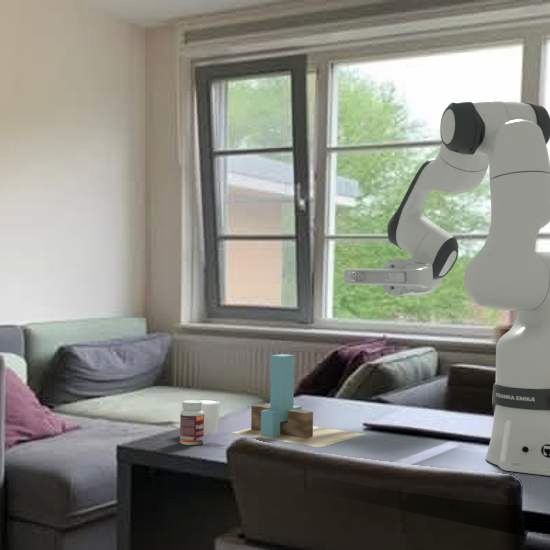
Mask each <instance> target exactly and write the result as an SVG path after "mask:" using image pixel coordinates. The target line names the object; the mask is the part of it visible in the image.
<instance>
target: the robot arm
mask: <svg viewBox="0 0 550 550" xmlns="http://www.w3.org/2000/svg"><path fill="white" fill-rule="evenodd" d="M439 129H440V130H439V131H440V134H439V135H440V139H441V142H442V143H441V145H440V149H439V151H438V154H437V155H436V157H435V158H429V159H428V160H426V161H425V162H424V163H423V164H421V166H420V167H419V168H418V170H417V172H416V174H414V176H413V179H412V181H411V182H410V185H409V186H408V188H407V191H406V192H405V194H404V195H403V198H402V200H401V202H400V204H399V207H397V210H396V211H395V213H394V214H393V215H392V216H391V218H390V220H389V221H388V223H387V230H386V233H387V238H388V240H389V243H391V244H393V245H394V246H396V247H398V248H399V249H400V250H403V251H404V252H406V253H407V254H409V255H410V256H411V258H397V257H396V258H392V259H391V258H390V259H389V260H387V261H386V262H384V264H383V265H382V267H381V268H346V269H344V271H343V282H344V284H345V285H358V286H359V285H360V286H361V285H363V286H365V285H366V286H371V285H372V286H381V288H382V289H383V291H384V292H385V293H386V294H388V295H390V296H393V297H406V296H412V297H413V296H414V297H415V296H425V295H429V294H431V293H433V292H434V291H435V290H437V289H438V288H439V287H440V286H441V284H442V283H443V280H444V277H445V276H447V274H448V273H449V272H450V271H451V270H452V268H453V267H454V265H455V264H456V262H457V260H458V256H459V242H458V240H457V238H456V237H454V236H453V235H452V234H451V233H449V232H448V231H447V230H445V229H444V228H442V227H441V226H439V225H438V224H436V223H435V222H434V221H432V220H430V219H429V218H428V217H426V216H425V214H424V213H423V209H422V208H423V206H425V205H424V204H425V202H426V201H427V199H428V197H429V195H430V193H431V191H437V192H441V193H445V194H451V195H461V194H467V193H469V192H471V191H473V190H475V189H476V188H477V187H479V186H480V184H481V183H482V181H483V179H484V178H485V176H486V174H487V171H488V168H489V187H490V188H489V190H490V209H491V212H490V213H491V214H490V216H491V217H490V224H489V225H490V226H489V230H488V234H487V237H486V239H485V242H484V245H483V246H482V248H481V249H480V250H479V252H477V254H475V256H473V257H472V259H471V260H470V261H469V262H468V264H467V266H466V268H465V271H464V276H463V282H464V283H463V285H464V288H465V291H466V294H467V296H468V297H469V300H471V301H472V303H473V304H475V305H477V306H479V307H484V308H487V309H492V310H495V311H496V310H497V311H517V314H516V319H515V320H514V322H513V324H512V326H511V328H510V329H509V330H508V331H507V332H506V333H504V334H503V335H502V336H501V337H500V338H498V340H497V342H496V346H495V382H494V383H493V385H492V399H491V402H492V403H491V404H492V413H493V423H492V430H491V435H490V439H489V440H490V441H489V444H488V447H487V448H488V449H487V451H486V454H485V460H486V461H488V463H491V464H494V465H496V466H498V467H499V468H500V469H501V470H503V471H506V472H508V471H509V472H515V473H524V474H531V475H539V476H549V477H550V251H536V241H537V237H538V234H539V232H540V230H541V229H543V228H544V227H545V226H547V225H548V224H549V223H550V156H549V153H548V147H547V145H548V143H549V140H550V114H549V112H548V109H546V107H544V106H542V105H541V104H537V103H534V102H529V101H526V102H517V101H512V100H501V99H495V98H494V99H475V100H470V99H462V100H456V101H453V102H451V103H449V105H448V106H447V107H446V108H445V110H444V111H443V113H442V115H441V120H440V126H439Z"/></svg>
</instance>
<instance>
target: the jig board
mask: <svg viewBox="0 0 550 550" xmlns="http://www.w3.org/2000/svg"><path fill="white" fill-rule="evenodd" d="M250 409H251V412H250V413H251V414H250V415H251V417H250V418H251V419H250V420H251V423H250V428H243V429H241V430H236V431H231V433H232V434H235V435H236V434H237V435H242V436H248V437H255V438H259V439H266V440H271V441H272V440H273V441H277V442H284V443H290V444H295V445H301V446H306V447H312V448H318V449H319V448H320V449H321V448H325V447H328V446H331V445H335V444H339V443H341V442H345V441H349V440H352V439H355V438H359V437H363V436H366V435H367V434H366V433H363V432H362V433H361V432H356V431H355V432H354V431H348V430H342V429H341V430H340V429H335V428H329V427H321V426H315V425H314V411H311V410H303V409H302V410H297V409H294V410H289V411H288V421H284V422H280V436H277V437H273V438H272V437H266V436H261V411H263V410H268V409H270V405H268V404H260V403H259V404H254V405H253V404H252V405H251V408H250Z"/></svg>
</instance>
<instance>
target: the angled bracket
mask: <svg viewBox="0 0 550 550" xmlns="http://www.w3.org/2000/svg"><path fill="white" fill-rule="evenodd" d="M294 377H295V355H294V354H285V353H280V354H271V355H270V390H269V391H270V395H269V396H270V398H269V399H270V401H269V406H270V409H268V410H263V411H261V436H266V437H272V438H273V437H277V436H280V422H284V421H288V411H289V410H294V409H297V410H303V406H300V405H294V401H295V400H294V396H295V395H294V393H295V391H294V390H295V389H294V388H295V387H294V385H295V384H294V383H295V381H294V380H295V378H294Z"/></svg>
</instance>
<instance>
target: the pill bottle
mask: <svg viewBox="0 0 550 550" xmlns="http://www.w3.org/2000/svg"><path fill="white" fill-rule="evenodd" d="M198 400H199V399H188V400H187V399H186V400H183V401H182V404H181V405H182V407H181V408H182V410H181V411H180V414H179V418H180V419H179V428H180V431H179V441H180V444H182V445H186V446H198V445H202V444H204V440H202V439H197V438H203V437H205V436H204V412H203V411H202V410H201V409H202V401H198Z"/></svg>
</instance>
